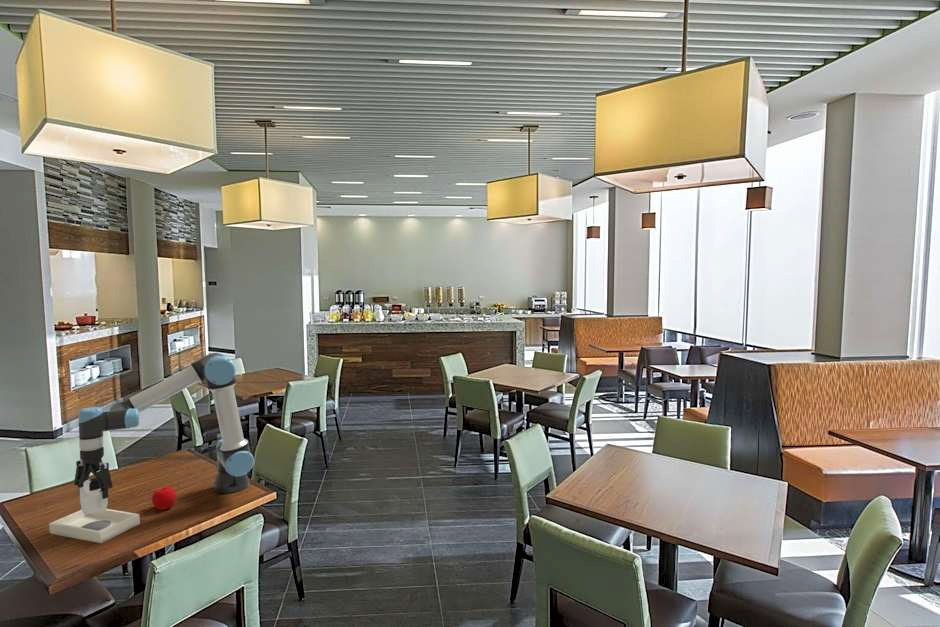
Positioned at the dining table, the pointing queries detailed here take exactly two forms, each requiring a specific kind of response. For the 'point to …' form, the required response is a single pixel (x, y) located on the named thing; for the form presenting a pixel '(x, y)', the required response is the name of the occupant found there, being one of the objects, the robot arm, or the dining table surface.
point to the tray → (94, 525)
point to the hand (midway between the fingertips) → (93, 504)
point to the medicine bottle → (91, 497)
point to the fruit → (164, 498)
